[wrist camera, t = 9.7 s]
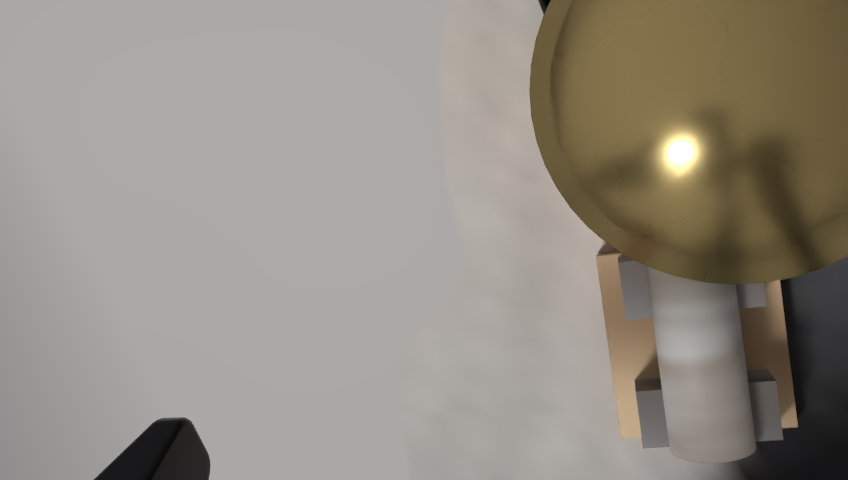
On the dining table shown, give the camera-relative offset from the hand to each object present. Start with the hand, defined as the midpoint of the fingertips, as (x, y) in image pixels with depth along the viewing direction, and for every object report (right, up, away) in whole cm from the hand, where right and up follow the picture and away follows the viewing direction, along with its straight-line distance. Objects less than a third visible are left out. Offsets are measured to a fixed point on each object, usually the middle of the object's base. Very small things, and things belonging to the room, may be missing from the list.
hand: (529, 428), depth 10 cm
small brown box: (+7, 0, +13) cm, 14 cm away
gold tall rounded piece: (+6, +5, +12) cm, 14 cm away
